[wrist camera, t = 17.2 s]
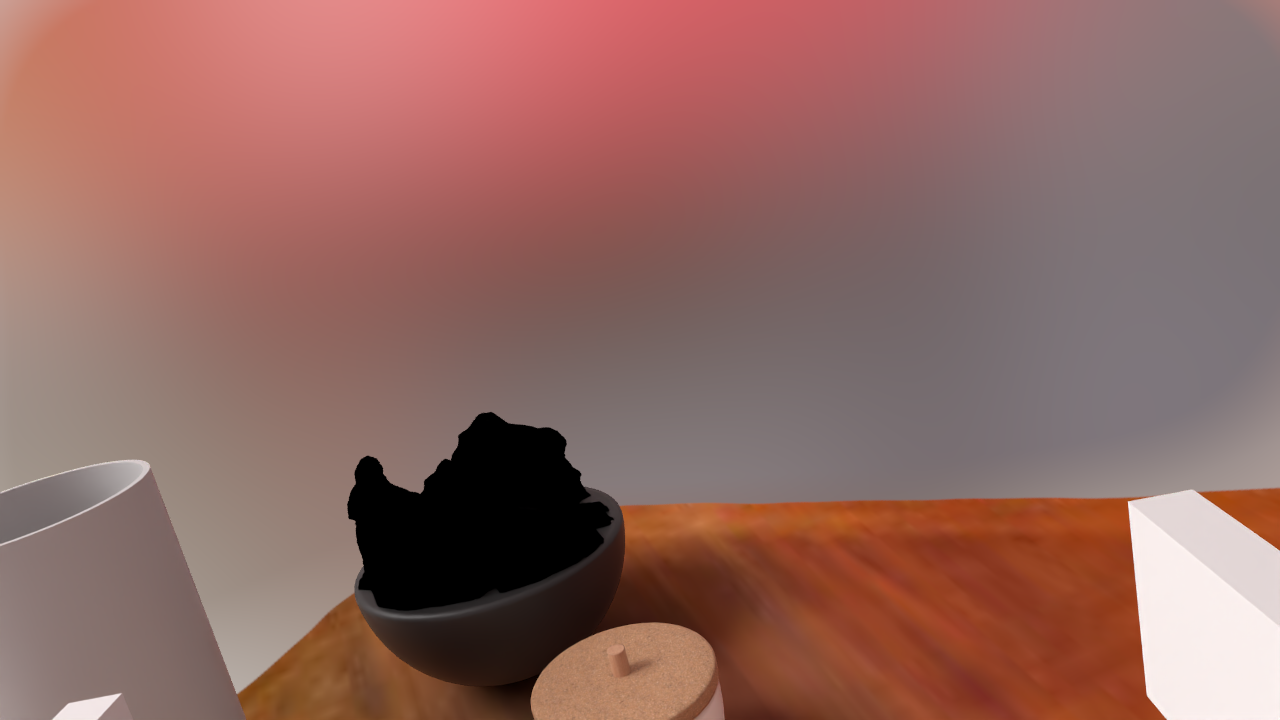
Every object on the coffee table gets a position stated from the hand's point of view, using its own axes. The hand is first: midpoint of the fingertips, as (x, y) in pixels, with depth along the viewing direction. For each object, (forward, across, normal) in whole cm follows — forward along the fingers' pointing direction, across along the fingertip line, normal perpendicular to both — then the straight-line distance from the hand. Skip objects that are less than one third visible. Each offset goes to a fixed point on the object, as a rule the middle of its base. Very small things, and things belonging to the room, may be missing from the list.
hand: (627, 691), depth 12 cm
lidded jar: (+35, -7, -30) cm, 47 cm away
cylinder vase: (+33, -35, -30) cm, 56 cm away
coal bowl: (+52, -17, -30) cm, 62 cm away
